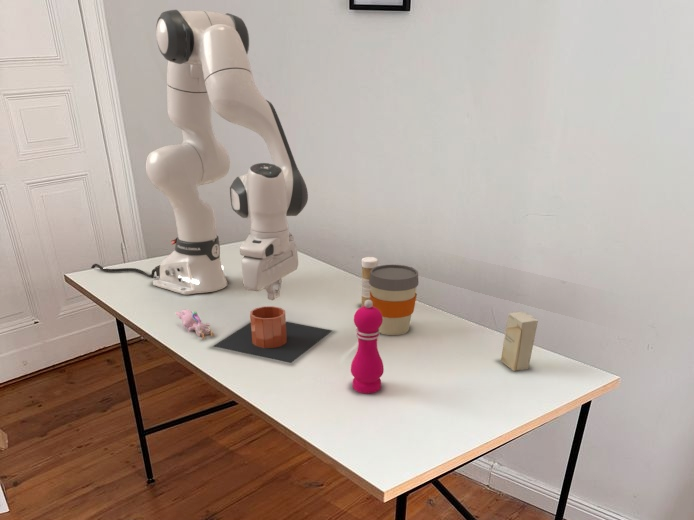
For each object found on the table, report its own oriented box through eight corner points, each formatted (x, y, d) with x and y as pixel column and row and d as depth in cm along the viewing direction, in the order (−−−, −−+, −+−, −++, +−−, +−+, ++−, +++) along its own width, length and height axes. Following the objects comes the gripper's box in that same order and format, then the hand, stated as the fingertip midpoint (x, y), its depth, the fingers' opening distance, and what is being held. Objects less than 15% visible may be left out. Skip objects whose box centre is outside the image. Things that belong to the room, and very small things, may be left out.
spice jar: (369, 302, 196) (370, 255, 188) (380, 307, 193) (381, 259, 185) (357, 306, 193) (358, 258, 186) (367, 310, 191) (368, 262, 183)
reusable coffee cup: (372, 339, 174) (373, 281, 166) (364, 320, 184) (365, 265, 176) (420, 336, 176) (424, 279, 167) (410, 318, 186) (413, 263, 178)
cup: (263, 332, 176) (246, 344, 170) (261, 304, 172) (243, 315, 165) (292, 338, 173) (275, 350, 167) (291, 309, 169) (273, 321, 162)
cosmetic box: (500, 361, 164) (506, 312, 157) (515, 358, 165) (523, 310, 159) (514, 372, 159) (521, 322, 152) (530, 369, 161) (538, 319, 154)
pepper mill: (385, 382, 154) (389, 295, 143) (379, 396, 148) (382, 307, 137) (354, 378, 155) (355, 292, 144) (347, 392, 150) (347, 304, 138)
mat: (213, 347, 169) (212, 346, 168) (259, 317, 185) (259, 316, 185) (290, 364, 161) (290, 362, 161) (332, 331, 178) (332, 330, 178)
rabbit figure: (219, 340, 176) (190, 314, 184) (218, 319, 172) (189, 294, 180) (197, 346, 172) (168, 320, 180) (196, 325, 168) (167, 299, 176)
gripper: (280, 228, 169) (283, 283, 177) (235, 249, 154) (240, 309, 161) (303, 231, 167) (305, 287, 175) (259, 253, 152) (263, 313, 159)
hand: (273, 298), depth 168 cm, fingers closed
